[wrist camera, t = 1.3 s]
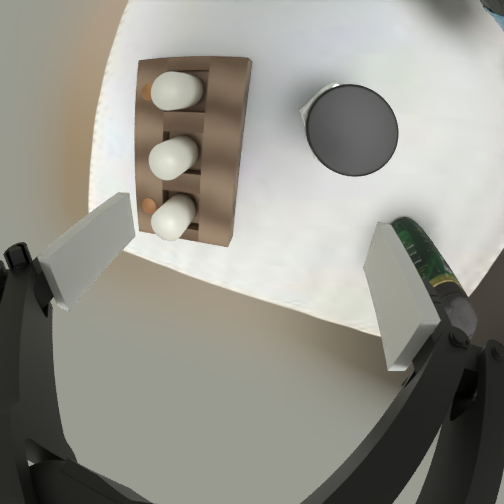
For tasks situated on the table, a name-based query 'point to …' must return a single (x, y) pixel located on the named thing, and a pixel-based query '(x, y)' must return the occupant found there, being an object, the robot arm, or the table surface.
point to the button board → (206, 137)
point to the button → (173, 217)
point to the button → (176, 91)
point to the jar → (350, 129)
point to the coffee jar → (437, 274)
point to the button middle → (173, 157)
